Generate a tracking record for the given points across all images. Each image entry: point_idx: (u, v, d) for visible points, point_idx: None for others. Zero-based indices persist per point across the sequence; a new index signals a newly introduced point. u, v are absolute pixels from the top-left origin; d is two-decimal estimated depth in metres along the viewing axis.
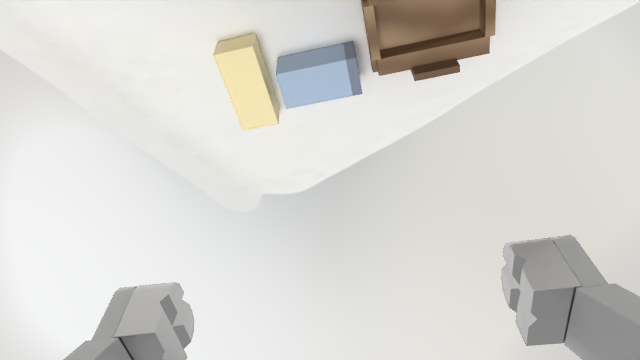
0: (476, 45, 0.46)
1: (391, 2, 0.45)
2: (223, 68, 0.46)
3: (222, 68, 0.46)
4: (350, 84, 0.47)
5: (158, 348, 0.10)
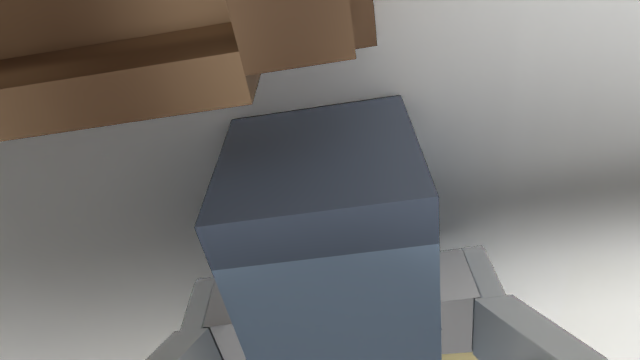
0: None
1: None
2: None
3: None
4: (363, 252, 0.08)
5: None
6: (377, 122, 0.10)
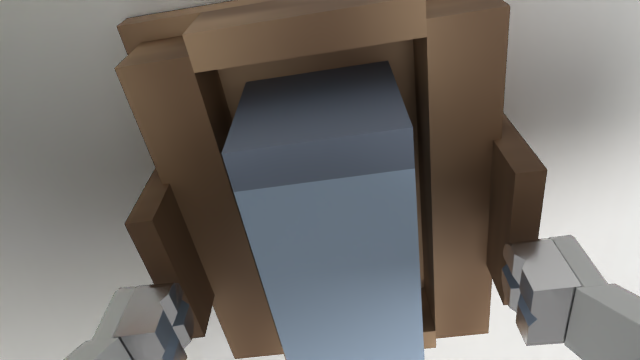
0: (456, 67, 0.11)
1: None
2: None
3: None
4: (354, 176, 0.10)
5: (158, 348, 0.10)
6: (368, 80, 0.12)
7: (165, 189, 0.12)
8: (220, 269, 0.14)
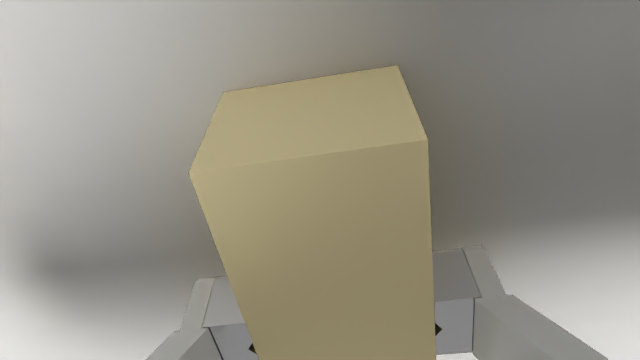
0: None
1: None
2: (240, 238, 0.09)
3: (234, 237, 0.09)
4: None
5: (247, 339, 0.10)
6: None
7: None
8: None
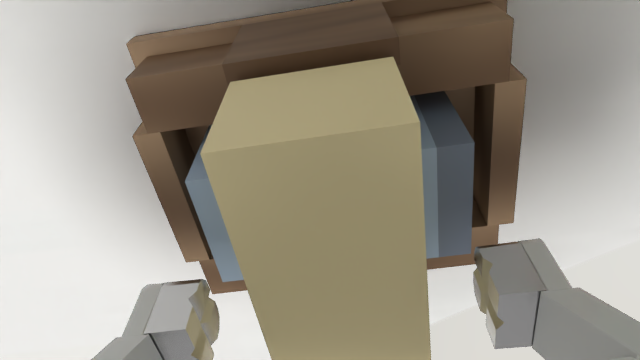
0: None
1: None
2: (247, 215, 0.09)
3: (242, 215, 0.09)
4: (438, 225, 0.14)
5: (188, 345, 0.10)
6: None
7: None
8: None
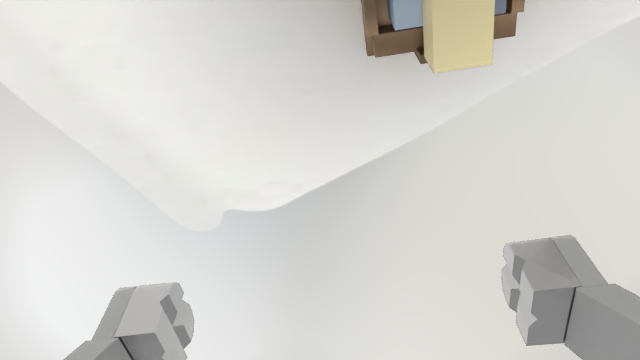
0: (499, 24, 0.36)
1: None
2: None
3: None
4: None
5: (158, 348, 0.10)
6: None
7: None
8: None
